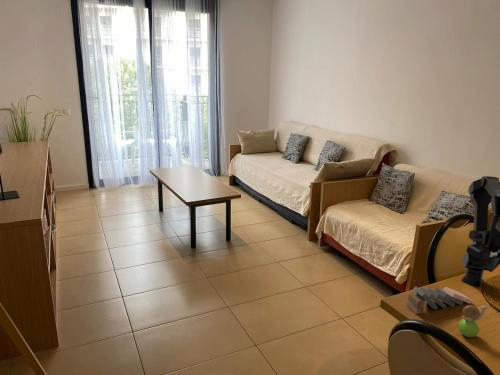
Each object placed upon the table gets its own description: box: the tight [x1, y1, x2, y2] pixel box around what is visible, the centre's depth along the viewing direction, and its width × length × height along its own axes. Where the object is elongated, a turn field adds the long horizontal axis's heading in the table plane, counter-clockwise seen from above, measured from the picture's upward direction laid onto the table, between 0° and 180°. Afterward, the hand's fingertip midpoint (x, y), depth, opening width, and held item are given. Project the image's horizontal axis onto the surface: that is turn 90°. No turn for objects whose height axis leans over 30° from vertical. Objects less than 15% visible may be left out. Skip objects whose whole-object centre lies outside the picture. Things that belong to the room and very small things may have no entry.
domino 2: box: [419, 286, 447, 309], centre depth 129 cm, size 1×4×10 cm
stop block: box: [406, 292, 426, 315], centre depth 127 cm, size 3×4×5 cm
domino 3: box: [426, 287, 456, 308], centre depth 130 cm, size 1×4×10 cm
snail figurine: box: [457, 301, 489, 338], centre depth 114 cm, size 5×6×12 cm
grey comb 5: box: [412, 286, 439, 311], centre depth 128 cm, size 1×4×10 cm
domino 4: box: [434, 287, 464, 306], centre depth 131 cm, size 1×4×10 cm
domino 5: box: [442, 286, 473, 304], centre depth 132 cm, size 1×4×10 cm
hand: (489, 271), depth 130 cm, fingers closed
